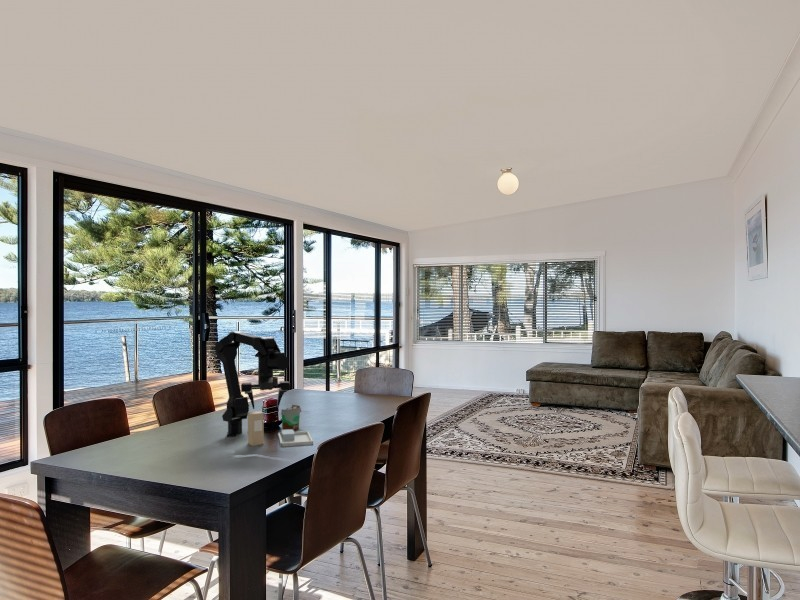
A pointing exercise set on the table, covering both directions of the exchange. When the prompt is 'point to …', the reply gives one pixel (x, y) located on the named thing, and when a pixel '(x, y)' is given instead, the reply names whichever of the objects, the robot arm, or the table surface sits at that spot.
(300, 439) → the tray
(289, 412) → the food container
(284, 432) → the white rectangular block
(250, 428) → the labelled carton
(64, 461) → the table surface
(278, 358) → the robot arm
